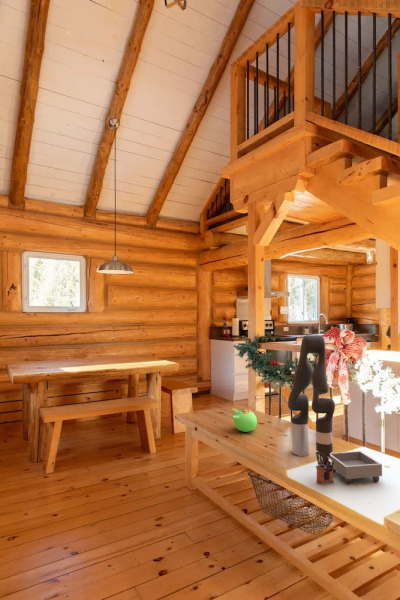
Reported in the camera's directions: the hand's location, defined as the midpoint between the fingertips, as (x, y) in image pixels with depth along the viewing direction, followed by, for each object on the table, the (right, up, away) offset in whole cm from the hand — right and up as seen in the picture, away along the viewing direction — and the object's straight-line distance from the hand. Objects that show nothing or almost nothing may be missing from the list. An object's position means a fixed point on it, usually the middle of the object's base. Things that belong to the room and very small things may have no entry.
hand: (324, 477), depth 184 cm
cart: (+16, -2, +6) cm, 18 cm away
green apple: (-29, -6, +81) cm, 87 cm away
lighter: (0, -2, 0) cm, 2 cm away
